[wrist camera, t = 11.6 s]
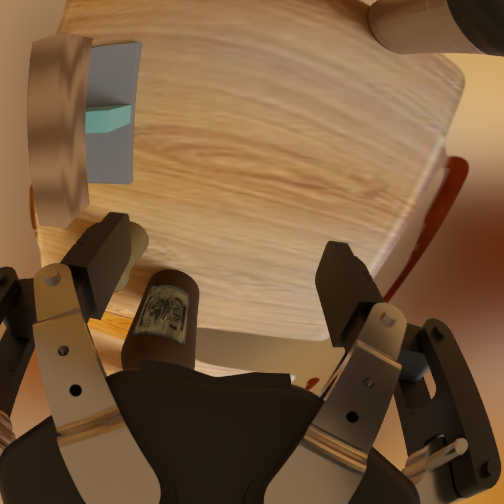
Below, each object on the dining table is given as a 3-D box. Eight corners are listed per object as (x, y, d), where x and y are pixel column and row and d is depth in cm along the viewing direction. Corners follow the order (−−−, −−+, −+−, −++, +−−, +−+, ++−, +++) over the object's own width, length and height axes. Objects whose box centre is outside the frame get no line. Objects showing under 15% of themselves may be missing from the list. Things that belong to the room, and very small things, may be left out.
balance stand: (79, 51, 25) (44, 49, 18) (142, 43, 26) (116, 34, 19) (76, 179, 36) (47, 201, 28) (132, 180, 37) (110, 205, 30)
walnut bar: (64, 44, 18) (32, 42, 13) (92, 38, 18) (63, 32, 13) (64, 202, 29) (39, 225, 24) (89, 204, 29) (66, 227, 24)
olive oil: (199, 315, 52) (187, 440, 31) (145, 305, 50) (113, 425, 29) (206, 272, 46) (191, 413, 25) (145, 261, 44) (97, 393, 24)
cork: (109, 226, 40) (80, 267, 31) (140, 217, 40) (115, 258, 31) (123, 257, 44) (101, 301, 35) (154, 250, 43) (135, 295, 34)
